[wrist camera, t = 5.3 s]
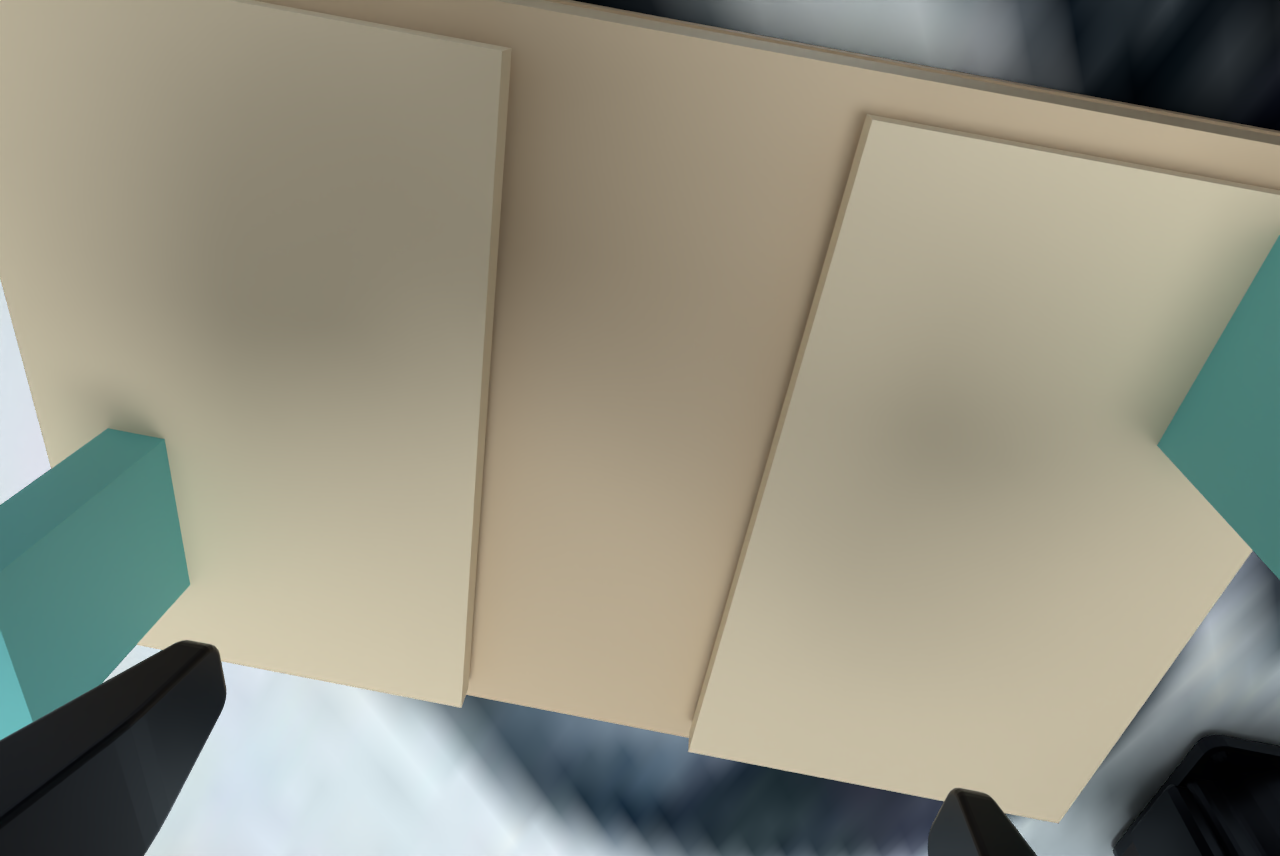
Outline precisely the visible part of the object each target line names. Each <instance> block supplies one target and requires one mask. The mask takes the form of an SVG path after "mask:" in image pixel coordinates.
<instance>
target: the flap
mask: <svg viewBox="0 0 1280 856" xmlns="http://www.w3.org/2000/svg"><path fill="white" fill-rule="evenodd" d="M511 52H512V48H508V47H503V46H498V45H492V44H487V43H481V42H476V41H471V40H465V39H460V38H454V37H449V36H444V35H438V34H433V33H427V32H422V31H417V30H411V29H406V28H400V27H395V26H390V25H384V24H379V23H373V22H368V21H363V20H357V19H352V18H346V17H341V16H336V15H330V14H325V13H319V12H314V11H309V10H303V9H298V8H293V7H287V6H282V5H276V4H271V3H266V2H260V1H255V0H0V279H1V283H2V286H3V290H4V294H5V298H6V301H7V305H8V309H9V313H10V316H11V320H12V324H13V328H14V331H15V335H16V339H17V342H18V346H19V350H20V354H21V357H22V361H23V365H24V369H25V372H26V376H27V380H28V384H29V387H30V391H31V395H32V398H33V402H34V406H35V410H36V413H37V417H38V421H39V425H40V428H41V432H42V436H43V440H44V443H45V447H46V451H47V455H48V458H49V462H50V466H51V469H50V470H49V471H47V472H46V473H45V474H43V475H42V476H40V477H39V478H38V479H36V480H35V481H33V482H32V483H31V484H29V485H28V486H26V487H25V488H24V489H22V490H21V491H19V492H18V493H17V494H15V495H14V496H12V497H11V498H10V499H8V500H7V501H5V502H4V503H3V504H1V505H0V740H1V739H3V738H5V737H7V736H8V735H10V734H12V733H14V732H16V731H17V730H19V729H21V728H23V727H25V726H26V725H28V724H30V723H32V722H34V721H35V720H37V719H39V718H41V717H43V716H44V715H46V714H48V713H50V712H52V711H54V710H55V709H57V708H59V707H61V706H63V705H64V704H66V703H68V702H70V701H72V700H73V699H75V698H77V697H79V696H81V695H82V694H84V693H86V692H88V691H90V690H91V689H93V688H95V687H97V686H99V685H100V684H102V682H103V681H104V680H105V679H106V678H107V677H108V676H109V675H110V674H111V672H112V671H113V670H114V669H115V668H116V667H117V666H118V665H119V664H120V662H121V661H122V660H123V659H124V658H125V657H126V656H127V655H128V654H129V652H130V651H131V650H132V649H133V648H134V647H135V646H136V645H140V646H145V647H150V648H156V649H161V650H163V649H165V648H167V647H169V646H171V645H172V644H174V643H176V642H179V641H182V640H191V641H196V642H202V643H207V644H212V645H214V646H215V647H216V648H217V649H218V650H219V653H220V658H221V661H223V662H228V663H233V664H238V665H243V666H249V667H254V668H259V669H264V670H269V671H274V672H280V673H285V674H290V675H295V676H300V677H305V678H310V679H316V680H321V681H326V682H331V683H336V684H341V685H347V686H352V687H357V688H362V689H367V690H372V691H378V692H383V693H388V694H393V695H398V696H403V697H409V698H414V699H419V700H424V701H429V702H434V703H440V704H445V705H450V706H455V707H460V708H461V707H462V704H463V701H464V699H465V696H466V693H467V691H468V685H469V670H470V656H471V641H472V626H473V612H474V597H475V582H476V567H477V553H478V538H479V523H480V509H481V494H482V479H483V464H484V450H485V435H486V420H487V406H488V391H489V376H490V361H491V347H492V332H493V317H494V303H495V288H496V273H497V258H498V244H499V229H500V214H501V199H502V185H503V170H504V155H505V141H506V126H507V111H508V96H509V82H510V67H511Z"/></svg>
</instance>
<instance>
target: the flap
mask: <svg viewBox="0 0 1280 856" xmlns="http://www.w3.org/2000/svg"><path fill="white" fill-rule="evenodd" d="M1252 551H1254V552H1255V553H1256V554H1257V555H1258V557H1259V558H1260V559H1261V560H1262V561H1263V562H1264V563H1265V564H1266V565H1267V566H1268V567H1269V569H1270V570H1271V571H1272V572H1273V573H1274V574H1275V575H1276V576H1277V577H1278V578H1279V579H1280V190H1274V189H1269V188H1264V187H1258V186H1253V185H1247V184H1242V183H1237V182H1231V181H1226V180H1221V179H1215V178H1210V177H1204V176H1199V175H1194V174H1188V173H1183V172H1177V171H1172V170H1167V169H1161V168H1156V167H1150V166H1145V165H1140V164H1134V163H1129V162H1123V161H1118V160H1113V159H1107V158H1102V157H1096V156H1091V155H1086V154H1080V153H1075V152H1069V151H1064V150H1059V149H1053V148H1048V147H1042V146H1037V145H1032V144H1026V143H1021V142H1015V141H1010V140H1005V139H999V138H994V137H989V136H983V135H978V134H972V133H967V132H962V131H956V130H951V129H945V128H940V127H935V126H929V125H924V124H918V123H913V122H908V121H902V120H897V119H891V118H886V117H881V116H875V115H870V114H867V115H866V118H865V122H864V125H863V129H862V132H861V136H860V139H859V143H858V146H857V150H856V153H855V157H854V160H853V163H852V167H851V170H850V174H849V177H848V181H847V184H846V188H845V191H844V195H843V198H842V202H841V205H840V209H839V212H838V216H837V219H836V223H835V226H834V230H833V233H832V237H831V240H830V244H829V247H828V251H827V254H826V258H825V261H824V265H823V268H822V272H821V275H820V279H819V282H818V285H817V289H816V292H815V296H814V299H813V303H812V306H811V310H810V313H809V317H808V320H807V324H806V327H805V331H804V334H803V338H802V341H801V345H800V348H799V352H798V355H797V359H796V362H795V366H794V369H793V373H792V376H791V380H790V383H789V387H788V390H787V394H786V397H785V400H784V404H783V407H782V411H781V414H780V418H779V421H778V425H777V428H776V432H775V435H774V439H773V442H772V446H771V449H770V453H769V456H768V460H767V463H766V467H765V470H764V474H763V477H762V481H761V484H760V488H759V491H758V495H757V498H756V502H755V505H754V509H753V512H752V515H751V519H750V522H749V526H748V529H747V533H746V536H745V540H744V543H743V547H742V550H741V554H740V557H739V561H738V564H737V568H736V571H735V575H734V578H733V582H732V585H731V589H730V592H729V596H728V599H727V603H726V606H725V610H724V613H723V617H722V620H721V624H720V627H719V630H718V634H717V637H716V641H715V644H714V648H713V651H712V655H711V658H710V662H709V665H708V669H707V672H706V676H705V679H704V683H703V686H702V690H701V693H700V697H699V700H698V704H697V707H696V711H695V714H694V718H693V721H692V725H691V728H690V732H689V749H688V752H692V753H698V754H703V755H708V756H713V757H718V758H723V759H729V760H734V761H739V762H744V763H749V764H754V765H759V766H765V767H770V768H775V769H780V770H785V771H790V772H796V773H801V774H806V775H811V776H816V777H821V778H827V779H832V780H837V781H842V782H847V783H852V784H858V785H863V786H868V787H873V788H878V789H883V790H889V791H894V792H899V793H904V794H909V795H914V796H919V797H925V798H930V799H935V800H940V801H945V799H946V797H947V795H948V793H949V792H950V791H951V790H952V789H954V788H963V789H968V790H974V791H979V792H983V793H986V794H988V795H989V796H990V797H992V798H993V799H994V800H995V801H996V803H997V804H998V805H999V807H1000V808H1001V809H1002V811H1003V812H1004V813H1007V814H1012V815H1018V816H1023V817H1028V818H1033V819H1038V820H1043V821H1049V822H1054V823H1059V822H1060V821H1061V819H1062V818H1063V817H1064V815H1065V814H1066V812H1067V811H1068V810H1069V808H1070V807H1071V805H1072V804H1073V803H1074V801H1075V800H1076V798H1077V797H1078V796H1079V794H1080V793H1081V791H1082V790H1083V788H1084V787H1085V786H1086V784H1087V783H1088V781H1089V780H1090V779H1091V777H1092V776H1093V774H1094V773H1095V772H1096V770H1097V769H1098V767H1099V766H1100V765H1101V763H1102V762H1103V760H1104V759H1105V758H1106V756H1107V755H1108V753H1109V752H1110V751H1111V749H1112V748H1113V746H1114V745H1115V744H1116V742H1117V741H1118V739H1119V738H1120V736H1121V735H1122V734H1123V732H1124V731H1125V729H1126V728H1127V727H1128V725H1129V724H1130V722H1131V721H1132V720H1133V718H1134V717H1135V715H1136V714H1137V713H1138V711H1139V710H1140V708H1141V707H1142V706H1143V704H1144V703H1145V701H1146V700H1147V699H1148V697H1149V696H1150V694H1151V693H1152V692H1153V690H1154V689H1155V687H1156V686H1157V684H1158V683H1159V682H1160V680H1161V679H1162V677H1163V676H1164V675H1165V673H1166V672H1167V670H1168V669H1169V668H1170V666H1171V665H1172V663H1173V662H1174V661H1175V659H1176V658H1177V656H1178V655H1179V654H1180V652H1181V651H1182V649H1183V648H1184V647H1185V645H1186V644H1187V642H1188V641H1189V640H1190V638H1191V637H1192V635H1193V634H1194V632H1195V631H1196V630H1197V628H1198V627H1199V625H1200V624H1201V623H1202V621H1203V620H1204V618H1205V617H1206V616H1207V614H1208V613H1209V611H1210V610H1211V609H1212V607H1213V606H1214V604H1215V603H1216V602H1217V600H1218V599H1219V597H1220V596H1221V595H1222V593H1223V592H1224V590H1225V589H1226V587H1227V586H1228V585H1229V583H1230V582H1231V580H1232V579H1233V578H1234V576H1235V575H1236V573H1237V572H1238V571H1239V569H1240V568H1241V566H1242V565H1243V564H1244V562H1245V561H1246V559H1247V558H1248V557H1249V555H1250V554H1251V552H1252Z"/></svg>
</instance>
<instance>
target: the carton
mask: <svg viewBox="0 0 1280 856" xmlns="http://www.w3.org/2000/svg"><path fill="white" fill-rule="evenodd" d="M255 1H260V2H266V3H271V4H276V5H282V6H287V7H293V8H298V9H303V10H309V11H314V12H319V13H325V14H330V15H336V16H341V17H346V18H352V19H357V20H363V21H368V22H373V23H379V24H384V25H390V26H395V27H400V28H406V29H411V30H417V31H422V32H427V33H433V34H438V35H444V36H449V37H454V38H460V39H465V40H471V41H476V42H481V43H487V44H492V45H498V46H503V47H508V48H512V52H511V67H510V82H509V96H508V111H507V126H506V141H505V155H504V170H503V185H502V199H501V214H500V229H499V244H498V258H497V273H496V288H495V303H494V317H493V332H492V347H491V361H490V376H489V391H488V406H487V420H486V435H485V450H484V464H483V479H482V494H481V509H480V523H479V538H478V553H477V567H476V582H475V597H474V612H473V626H472V641H471V656H470V670H469V685H468V691H467V693H466V695H471V696H476V697H481V698H486V699H491V700H497V701H502V702H507V703H512V704H517V705H522V706H528V707H533V708H538V709H543V710H548V711H553V712H559V713H564V714H569V715H574V716H579V717H584V718H590V719H595V720H600V721H605V722H610V723H615V724H621V725H626V726H631V727H636V728H641V729H646V730H652V731H657V732H662V733H667V734H672V735H677V736H683V737H688V738H689V732H690V728H691V725H692V721H693V718H694V714H695V711H696V707H697V704H698V700H699V697H700V693H701V690H702V686H703V683H704V679H705V676H706V672H707V669H708V665H709V662H710V658H711V655H712V651H713V648H714V644H715V641H716V637H717V634H718V630H719V627H720V624H721V620H722V617H723V613H724V610H725V606H726V603H727V599H728V596H729V592H730V589H731V585H732V582H733V578H734V575H735V571H736V568H737V564H738V561H739V557H740V554H741V550H742V547H743V543H744V540H745V536H746V533H747V529H748V526H749V522H750V519H751V515H752V512H753V509H754V505H755V502H756V498H757V495H758V491H759V488H760V484H761V481H762V477H763V474H764V470H765V467H766V463H767V460H768V456H769V453H770V449H771V446H772V442H773V439H774V435H775V432H776V428H777V425H778V421H779V418H780V414H781V411H782V407H783V404H784V400H785V397H786V394H787V390H788V387H789V383H790V380H791V376H792V373H793V369H794V366H795V362H796V359H797V355H798V352H799V348H800V345H801V341H802V338H803V334H804V331H805V327H806V324H807V320H808V317H809V313H810V310H811V306H812V303H813V299H814V296H815V292H816V289H817V285H818V282H819V279H820V275H821V272H822V268H823V265H824V261H825V258H826V254H827V251H828V247H829V244H830V240H831V237H832V233H833V230H834V226H835V223H836V219H837V216H838V212H839V209H840V205H841V202H842V198H843V195H844V191H845V188H846V184H847V181H848V177H849V174H850V170H851V167H852V163H853V160H854V157H855V153H856V150H857V146H858V143H859V139H860V136H861V132H862V129H863V125H864V122H865V118H866V115H867V114H870V115H875V116H881V117H886V118H891V119H897V120H902V121H908V122H913V123H918V124H924V125H929V126H935V127H940V128H945V129H951V130H956V131H962V132H967V133H972V134H978V135H983V136H989V137H994V138H999V139H1005V140H1010V141H1015V142H1021V143H1026V144H1032V145H1037V146H1042V147H1048V148H1053V149H1059V150H1064V151H1069V152H1075V153H1080V154H1086V155H1091V156H1096V157H1102V158H1107V159H1113V160H1118V161H1123V162H1129V163H1134V164H1140V165H1145V166H1150V167H1156V168H1161V169H1167V170H1172V171H1177V172H1183V173H1188V174H1194V175H1199V176H1204V177H1210V178H1215V179H1221V180H1226V181H1231V182H1237V183H1242V184H1247V185H1253V186H1258V187H1264V188H1269V189H1274V190H1280V131H1277V130H1271V129H1266V128H1260V127H1255V126H1250V125H1244V124H1239V123H1233V122H1228V121H1222V120H1217V119H1212V118H1206V117H1201V116H1195V115H1190V114H1185V113H1179V112H1174V111H1168V110H1163V109H1157V108H1152V107H1147V106H1141V105H1136V104H1130V103H1125V102H1120V101H1114V100H1109V99H1103V98H1098V97H1092V96H1087V95H1082V94H1076V93H1071V92H1065V91H1060V90H1055V89H1049V88H1044V87H1038V86H1033V85H1027V84H1022V83H1017V82H1011V81H1006V80H1000V79H995V78H990V77H984V76H979V75H973V74H968V73H962V72H957V71H952V70H946V69H941V68H935V67H930V66H925V65H919V64H914V63H908V62H903V61H897V60H892V59H887V58H881V57H876V56H870V55H865V54H860V53H854V52H849V51H843V50H838V49H832V48H827V47H822V46H816V45H811V44H805V43H800V42H795V41H789V40H784V39H778V38H773V37H767V36H762V35H757V34H751V33H746V32H740V31H735V30H730V29H724V28H719V27H713V26H708V25H702V24H697V23H692V22H686V21H681V20H675V19H670V18H665V17H659V16H654V15H648V14H643V13H637V12H632V11H627V10H621V9H616V8H610V7H605V6H600V5H594V4H589V3H583V2H578V1H572V0H255Z"/></svg>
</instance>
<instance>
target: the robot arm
mask: <svg viewBox="0 0 1280 856" xmlns="http://www.w3.org/2000/svg"><path fill="white" fill-rule="evenodd" d="M225 700H226V685H225V680H224V674H223V669H222V663H221V658H220V653H219V650H218V649H217V648H216V647H215V646H214V645H212V644H207V643H202V642H196V641H191V640H182V641H179V642H176V643H174V644H172V645H171V646H169V647H167V648H165V649H163V650H162V651H160V652H158V653H156V654H154V655H153V656H151V657H149V658H147V659H145V660H144V661H142V662H140V663H138V664H136V665H135V666H133V667H131V668H129V669H127V670H126V671H124V672H122V673H120V674H118V675H117V676H115V677H113V678H111V679H109V680H108V681H106V682H104V683H102V684H100V685H99V686H97V687H95V688H93V689H91V690H90V691H88V692H86V693H84V694H82V695H81V696H79V697H77V698H75V699H73V700H72V701H70V702H68V703H66V704H64V705H63V706H61V707H59V708H57V709H55V710H54V711H52V712H50V713H48V714H46V715H44V716H43V717H41V718H39V719H37V720H35V721H34V722H32V723H30V724H28V725H26V726H25V727H23V728H21V729H19V730H17V731H16V732H14V733H12V734H10V735H8V736H7V737H5V738H3V739H1V740H0V856H144V855H145V853H146V852H147V850H148V848H149V847H150V845H151V844H152V842H153V840H154V839H155V837H156V835H157V834H158V832H159V831H160V829H161V827H162V825H163V823H164V821H165V820H166V818H167V816H168V814H169V812H170V811H171V809H172V807H173V805H174V803H175V801H176V799H177V797H178V795H179V793H180V791H181V789H182V787H183V785H184V783H185V781H186V780H187V778H188V776H189V774H190V772H191V770H192V768H193V766H194V764H195V762H196V760H197V758H198V756H199V754H200V752H201V750H202V749H203V747H204V745H205V743H206V741H207V739H208V737H209V735H210V733H211V731H212V729H213V727H214V725H215V723H216V721H217V719H218V718H219V716H220V714H221V712H222V709H223V707H224V704H225ZM1113 854H1114V856H1280V746H1275V745H1270V744H1265V743H1260V742H1254V741H1249V740H1244V739H1239V738H1234V737H1228V736H1223V735H1211V736H1207V737H1205V738H1202V739H1201V740H1200V741H1198V742H1197V743H1196V745H1195V746H1194V747H1193V748H1192V750H1191V751H1190V752H1189V753H1188V755H1187V756H1186V757H1185V758H1184V760H1183V761H1182V762H1181V764H1180V765H1179V766H1178V767H1177V769H1176V770H1175V771H1174V772H1173V774H1172V775H1171V776H1170V777H1169V779H1168V780H1167V781H1166V782H1165V784H1164V785H1163V786H1162V788H1161V789H1160V790H1159V791H1158V793H1157V794H1156V795H1155V796H1154V798H1153V799H1152V800H1151V801H1150V803H1149V804H1148V805H1147V806H1146V808H1145V809H1144V810H1143V812H1142V813H1141V814H1140V815H1139V817H1138V818H1137V819H1136V820H1135V822H1134V823H1133V824H1132V825H1131V827H1130V828H1129V829H1128V830H1127V832H1126V833H1125V834H1124V836H1123V837H1122V838H1121V839H1120V841H1119V842H1118V843H1117V844H1116V846H1115V847H1114V849H1113ZM928 856H1037V855H1036V854H1035V852H1034V851H1033V850H1032V848H1031V847H1030V846H1029V845H1028V843H1027V842H1026V841H1025V839H1024V838H1023V837H1022V835H1021V834H1020V833H1019V831H1018V830H1017V829H1016V828H1015V826H1014V825H1013V824H1012V822H1011V821H1010V820H1009V818H1008V817H1007V816H1006V814H1005V813H1004V812H1003V811H1002V809H1001V808H1000V807H999V805H998V804H997V803H996V801H995V800H994V799H993V798H992V797H990V796H989V795H988V794H986V793H983V792H979V791H974V790H968V789H963V788H954V789H952V790H951V791H950V792H949V793H948V795H947V797H946V799H945V801H944V803H943V805H942V807H941V809H940V811H939V812H938V814H937V816H936V818H935V820H934V822H933V824H932V826H931V829H930V832H929V838H928Z"/></svg>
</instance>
